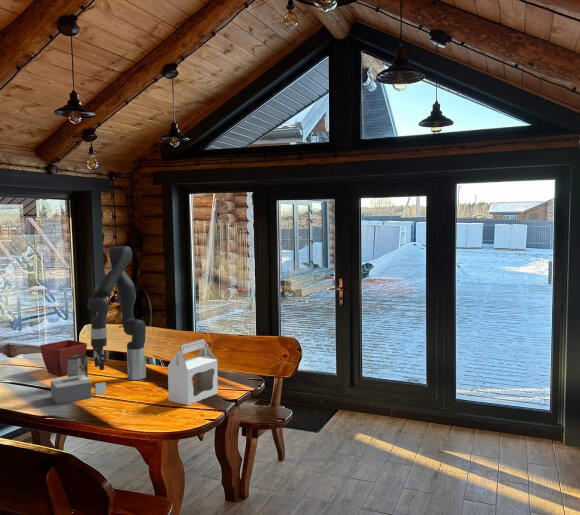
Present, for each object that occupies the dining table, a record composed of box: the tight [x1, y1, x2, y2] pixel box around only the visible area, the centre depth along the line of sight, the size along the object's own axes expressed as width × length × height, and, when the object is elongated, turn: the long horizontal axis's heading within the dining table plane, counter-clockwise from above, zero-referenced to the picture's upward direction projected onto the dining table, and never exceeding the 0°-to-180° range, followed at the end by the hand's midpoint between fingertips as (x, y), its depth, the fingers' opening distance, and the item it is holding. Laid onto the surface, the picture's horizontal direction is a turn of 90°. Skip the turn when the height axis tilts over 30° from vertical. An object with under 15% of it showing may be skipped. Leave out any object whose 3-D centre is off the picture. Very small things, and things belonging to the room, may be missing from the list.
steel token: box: [94, 381, 107, 395], centre depth 273 cm, size 5×2×5 cm, turn 125°
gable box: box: [167, 338, 219, 406], centre depth 266 cm, size 22×13×28 cm, turn 147°
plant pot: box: [39, 339, 88, 377], centre depth 311 cm, size 19×19×17 cm
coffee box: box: [67, 354, 89, 378], centre depth 286 cm, size 9×6×16 cm
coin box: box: [50, 374, 92, 405], centre depth 266 cm, size 16×13×9 cm
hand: (99, 368), depth 272 cm, fingers open, 8 cm apart
